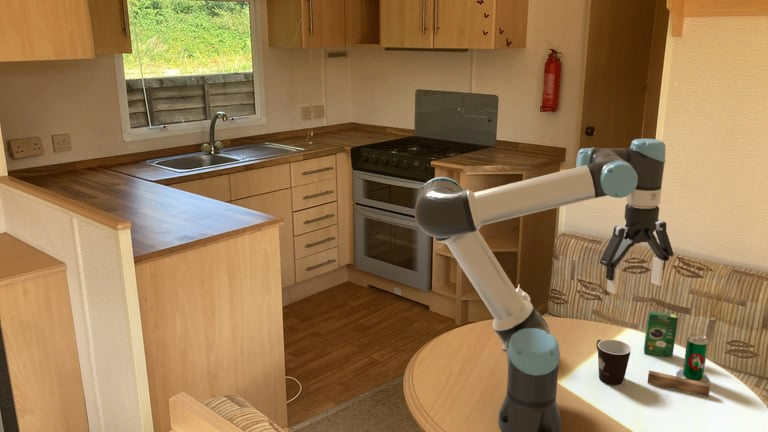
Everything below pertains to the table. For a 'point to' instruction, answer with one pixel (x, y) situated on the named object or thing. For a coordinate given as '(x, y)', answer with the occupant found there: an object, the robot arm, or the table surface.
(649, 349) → the coffee box
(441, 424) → the table surface
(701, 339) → the soda can
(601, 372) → the coffee mug
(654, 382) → the rail
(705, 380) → the grey domed button
